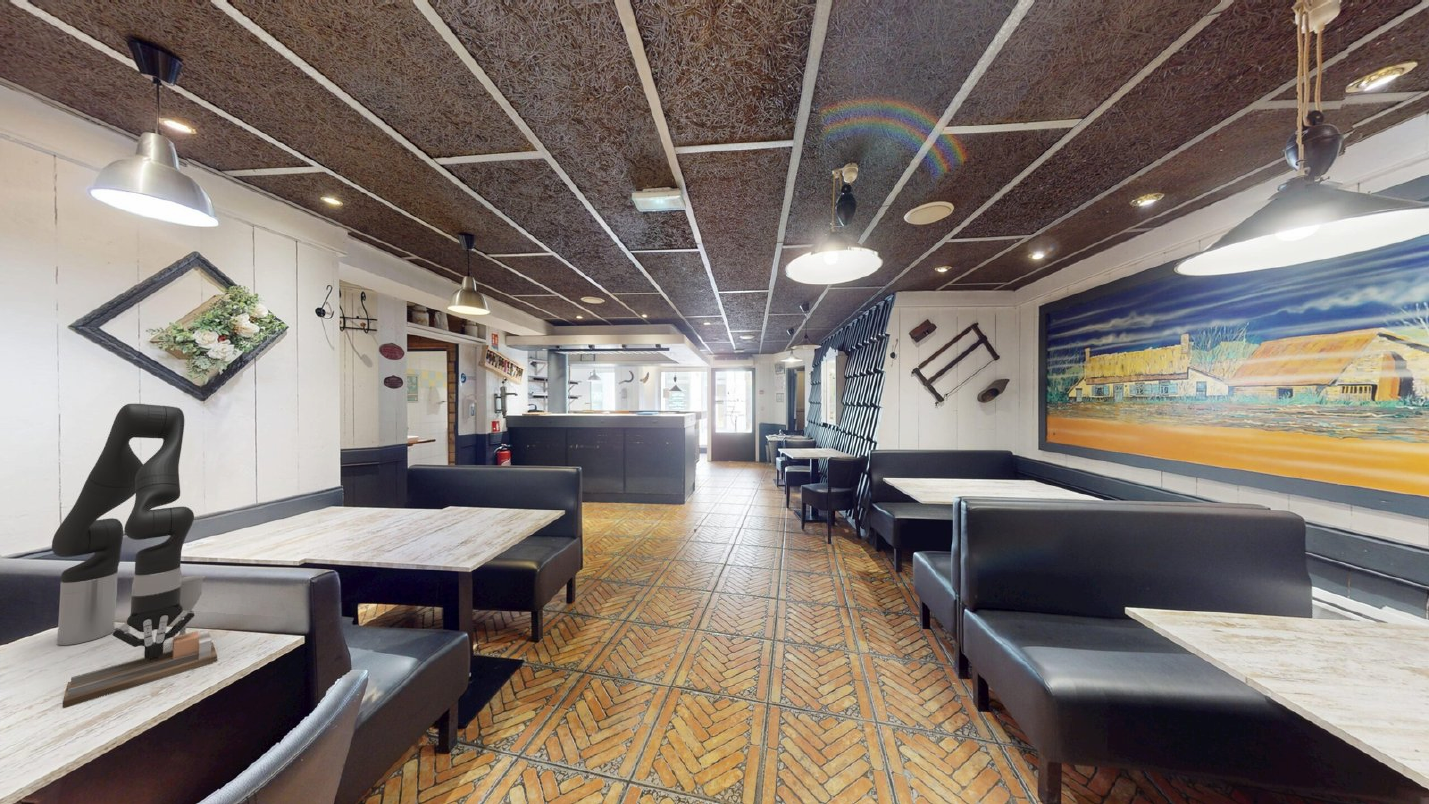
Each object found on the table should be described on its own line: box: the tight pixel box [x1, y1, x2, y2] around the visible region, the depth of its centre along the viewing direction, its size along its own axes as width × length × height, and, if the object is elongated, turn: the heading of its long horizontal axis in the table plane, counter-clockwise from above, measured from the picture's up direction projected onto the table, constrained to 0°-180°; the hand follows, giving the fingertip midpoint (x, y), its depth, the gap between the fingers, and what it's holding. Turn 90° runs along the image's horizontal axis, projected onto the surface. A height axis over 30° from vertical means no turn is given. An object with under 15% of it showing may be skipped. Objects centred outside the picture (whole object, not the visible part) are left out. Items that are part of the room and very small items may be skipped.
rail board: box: [62, 630, 218, 709], centre depth 105 cm, size 11×22×6 cm, turn 144°
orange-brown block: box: [172, 630, 199, 659], centre depth 110 cm, size 5×4×5 cm
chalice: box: [166, 574, 206, 651], centre depth 118 cm, size 7×7×18 cm
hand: (153, 658), depth 106 cm, fingers closed
